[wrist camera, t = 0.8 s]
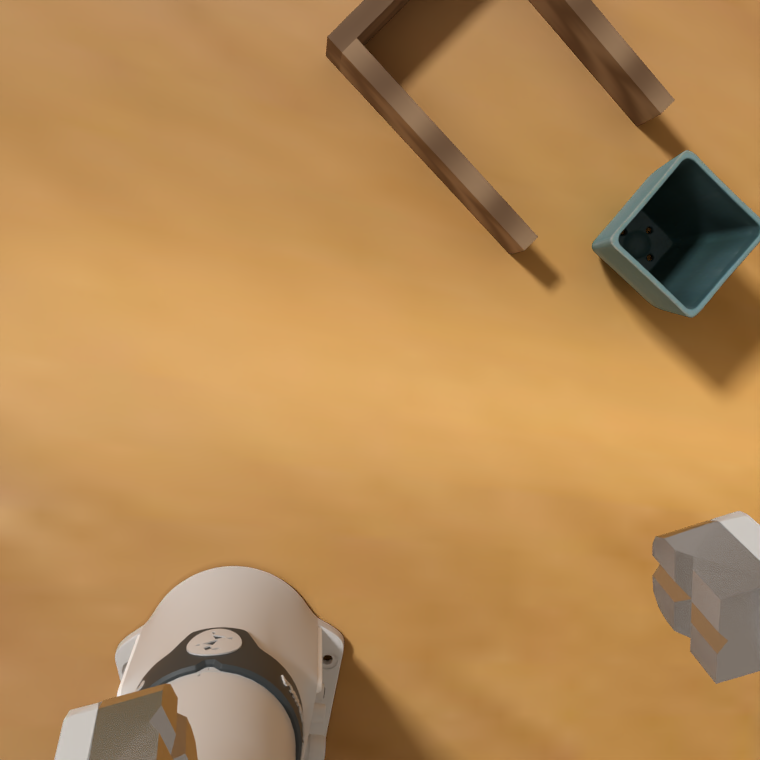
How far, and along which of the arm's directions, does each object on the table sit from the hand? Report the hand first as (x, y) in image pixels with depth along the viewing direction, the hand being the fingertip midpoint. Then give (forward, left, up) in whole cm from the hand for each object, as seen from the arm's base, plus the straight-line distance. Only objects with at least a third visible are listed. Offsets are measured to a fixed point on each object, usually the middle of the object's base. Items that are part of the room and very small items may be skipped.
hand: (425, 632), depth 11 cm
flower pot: (+10, -26, -47) cm, 55 cm away
